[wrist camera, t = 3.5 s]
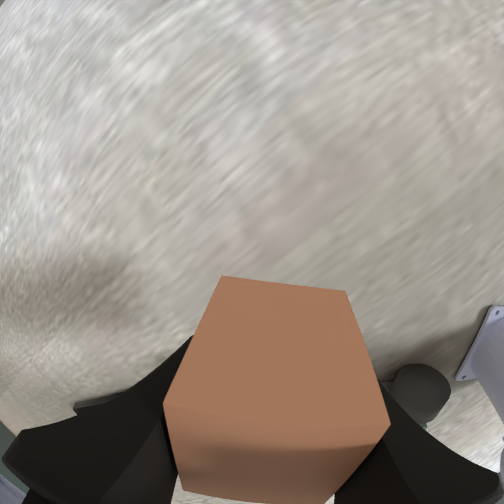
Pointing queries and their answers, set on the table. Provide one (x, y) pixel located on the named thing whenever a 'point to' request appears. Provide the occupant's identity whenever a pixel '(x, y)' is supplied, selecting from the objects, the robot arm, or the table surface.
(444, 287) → the table surface
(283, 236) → the table surface
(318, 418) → the block
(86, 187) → the table surface
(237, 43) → the table surface
